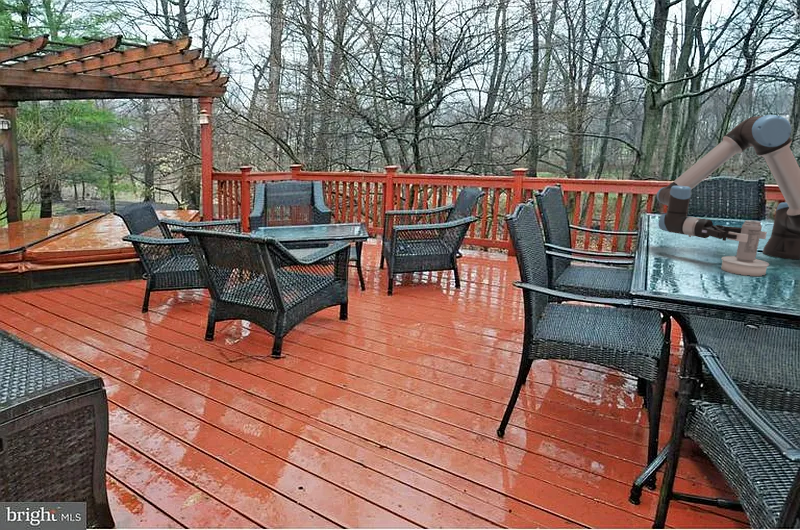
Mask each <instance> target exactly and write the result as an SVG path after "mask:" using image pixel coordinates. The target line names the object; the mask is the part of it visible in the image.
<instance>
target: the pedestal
mask: <svg viewBox="0 0 800 530" xmlns="http://www.w3.org/2000/svg"><path fill="white" fill-rule="evenodd" d="M720 260H721V261H722V262H721V266H720V267H721V268H720V269H721V270H722V271H724V272H727V273H731V274H734V273H735V274H734V275H739V274H741V275H740V276H747V275H750V276H749V277H763V276H762V275H764V276H766V273H767V269H768V268H767V267H769V266H770V263H769V262H767V261H765V260H761V259H757V258H755V260H753V262H742V261H738V260H737V258H736V255H727V256H726V255H725V256H722V257H721V259H720Z"/></svg>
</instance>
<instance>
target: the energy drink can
mask: <svg viewBox="0 0 800 530" xmlns="http://www.w3.org/2000/svg"><path fill="white" fill-rule="evenodd" d="M741 228H742V229H741V234H746V235H748V240H747V242H741V241H738V245H737V250H736V255H735V256H736V258H737V260H738V261H742V262H753V260H755V259H757V258H756V257H757V252H758V248H759V243H760V233H761V231H762V224H761V221H758V220H753V219H752V220H749V219H748V220H744V223H743V224H742V225H741Z"/></svg>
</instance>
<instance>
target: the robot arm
mask: <svg viewBox="0 0 800 530" xmlns="http://www.w3.org/2000/svg"><path fill="white" fill-rule="evenodd" d="M791 133H792V125H791V124H790V121H789V120H788V119H787V118H785V117H784V116H781V115H775V114H766V115H756V116H751V117H749V118H748V117H747V118H746V119H745V120H743V121H741V122H740V123H739V124H737V125H736V126H735V127H734V128H732V129H731V130H730V131H729V132H728V133H726V134H725V135H724V136H723V137H722V141H721V142H719V143H718V144H717V145H716V146H714V147H713V148H712V149H711V150H710V151H709V152H708V153H706V154H705V155H704V156H702V157H701V158H700V159H699V160H697V162H695V163H694V164H693V165H692V166H690V167H689V168H688V169H687V170H686V171H684V172H683V173H682V174H681V175H679V176H678V177H677V178H675V180H673V181H672V182H671V183H670V184H668V185H667V186H664V187H661V188H660V189H659V190H657V192H656V199H657V201H658V202H659V203H660V204H662V205H663V206H667V210H666V213H662V214H661V215H660V216H659V220H658V227H659V229H660V230H661V231H664V232H669V233H673V234H679V235H686V236H688V237H689V238H691V237H697V238H701V239H708V238H709V237H711V238H712V237H713V238H715V239H719V240H722V241H723V242H726V241H727V240H730V241H737V242H739V241H741V242H747V240H748V235H746V234H741V229H742V227H738V226H737V227H736V226H729V225H722V224H716V225H714V223H713V221H712V220H711V219H708V218H707V219H706V218H700V217H695V216H688V213H689V205H690V200H691V197H692V195H691V193H692V189H694V188H695V187H696V186H697V185H699V184H700V183H701V182H703V181H704V180H705V179H707V178H708V177H709V176H710V175H711V174H713V173H714V172H715V171H716V170H717V169H719V168H720V167H721V166H723V165H724V164H725V163H726V162H727V161H729V160H730V159H731V158H733V157H734V156H735V155H736V154H742V153H743V152H744V151H745V150H747V149H749V148H751V147H753V149H754V151H755V153H756V155H757V156H758V157H762V158H764V161H765V162H766V164H767V166H768V168H769V171H770V172H771V174H772V176H773V178H774V181H775V183H776V184H777V186H778V189H779V190H780V192H781V194H782V196H783V198H784V200H785V202H780V203H778V205H777V207H776V210H775V216H774V222H773V225H772V231H771V235H770V237H769V239H768V241H767V242H766V244H765V245H764V246H763V250H762V254H764V255H765V256H769V257H770V256H771V257H775V258H779V257H780V258H782V259H787V260H800V166H799V164H798V162H797V160H796V158H795V156H794V154H793V151H792V149H791V147H790V146H791V144H792V142H793V140H792V139H791ZM767 233H768V232H767V231H763V230H761V233H760V238H759V240H760V239H761V240H766V237H767Z"/></svg>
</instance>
